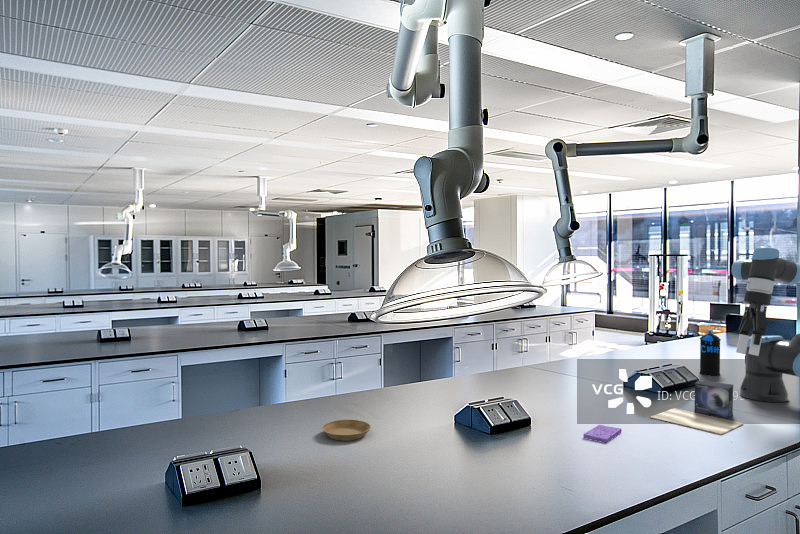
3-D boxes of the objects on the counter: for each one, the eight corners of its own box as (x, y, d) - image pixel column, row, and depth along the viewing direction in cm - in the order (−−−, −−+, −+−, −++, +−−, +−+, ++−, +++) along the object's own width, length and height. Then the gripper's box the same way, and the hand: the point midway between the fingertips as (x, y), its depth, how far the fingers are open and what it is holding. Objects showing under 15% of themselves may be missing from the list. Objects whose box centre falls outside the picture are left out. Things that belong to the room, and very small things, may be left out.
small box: (693, 413, 189) (693, 382, 189) (698, 409, 194) (699, 379, 193) (728, 419, 182) (729, 387, 181) (733, 415, 186) (733, 384, 186)
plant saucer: (367, 426, 178) (367, 418, 178) (373, 441, 164) (373, 433, 164) (321, 429, 176) (321, 420, 176) (323, 445, 161) (323, 436, 161)
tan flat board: (674, 409, 194) (674, 408, 194) (743, 424, 176) (743, 423, 176) (650, 417, 184) (650, 416, 184) (721, 435, 167) (721, 433, 167)
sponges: (583, 439, 165) (583, 433, 165) (599, 429, 174) (599, 423, 174) (606, 445, 160) (606, 438, 160) (621, 434, 170) (621, 428, 170)
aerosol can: (700, 371, 253) (701, 327, 253) (721, 373, 248) (721, 328, 248) (698, 374, 247) (698, 329, 246) (719, 376, 242) (719, 331, 241)
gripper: (735, 292, 201) (724, 350, 200) (758, 287, 177) (745, 352, 176) (758, 297, 199) (747, 355, 198) (785, 292, 175) (772, 358, 174)
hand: (746, 354), depth 187 cm, fingers open, 13 cm apart
